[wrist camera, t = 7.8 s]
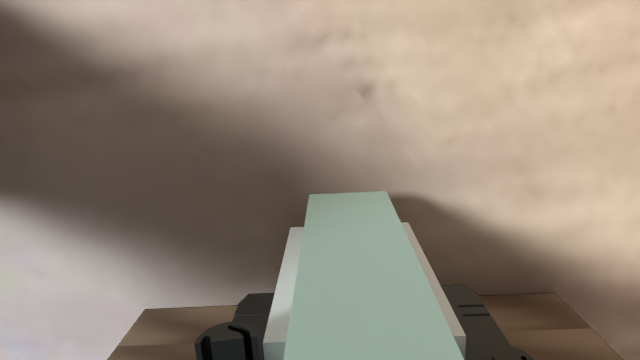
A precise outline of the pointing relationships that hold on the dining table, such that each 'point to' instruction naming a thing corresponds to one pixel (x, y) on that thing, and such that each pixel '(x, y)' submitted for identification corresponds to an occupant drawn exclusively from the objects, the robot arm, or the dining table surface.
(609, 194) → the dining table surface
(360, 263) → the plate
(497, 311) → the slotted rail
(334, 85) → the dining table surface
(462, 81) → the dining table surface
